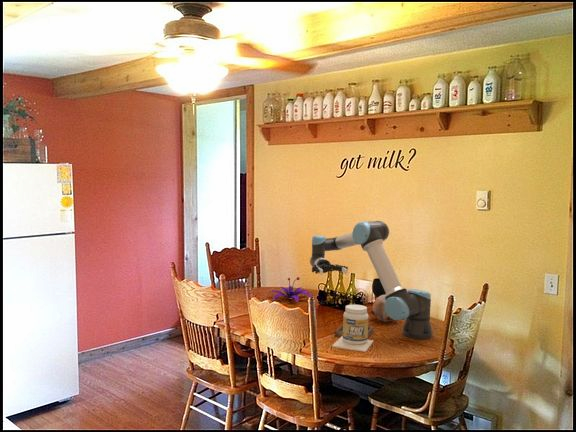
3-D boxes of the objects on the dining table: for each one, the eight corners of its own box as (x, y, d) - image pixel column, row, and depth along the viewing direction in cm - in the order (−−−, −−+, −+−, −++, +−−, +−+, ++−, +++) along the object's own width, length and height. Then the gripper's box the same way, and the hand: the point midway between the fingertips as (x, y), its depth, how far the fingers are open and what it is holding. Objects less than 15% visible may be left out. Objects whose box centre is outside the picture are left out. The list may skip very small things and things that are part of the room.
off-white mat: (373, 342, 254) (373, 340, 254) (365, 351, 239) (365, 350, 239) (341, 337, 260) (341, 336, 260) (332, 347, 245) (332, 345, 245)
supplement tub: (344, 345, 245) (345, 310, 244) (340, 337, 257) (341, 303, 256) (370, 345, 246) (371, 310, 245) (364, 337, 258) (365, 303, 257)
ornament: (397, 326, 282) (398, 299, 281) (370, 323, 287) (371, 296, 286) (401, 319, 296) (402, 293, 295) (374, 316, 301) (375, 291, 300)
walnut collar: (373, 331, 271) (373, 326, 271) (365, 340, 256) (365, 335, 256) (343, 327, 277) (343, 323, 277) (334, 335, 262) (334, 331, 262)
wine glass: (367, 312, 310) (368, 279, 309) (378, 309, 317) (379, 277, 316) (381, 315, 302) (382, 282, 301) (392, 313, 309) (393, 280, 308)
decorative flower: (305, 307, 319) (306, 283, 318) (259, 301, 330) (260, 278, 329) (319, 297, 345) (320, 275, 344) (276, 292, 356) (276, 271, 355)
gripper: (343, 271, 298) (356, 278, 277) (301, 272, 292) (311, 279, 271) (343, 258, 297) (357, 264, 277) (301, 259, 292) (311, 265, 271)
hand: (334, 272), depth 274 cm, fingers open, 13 cm apart
